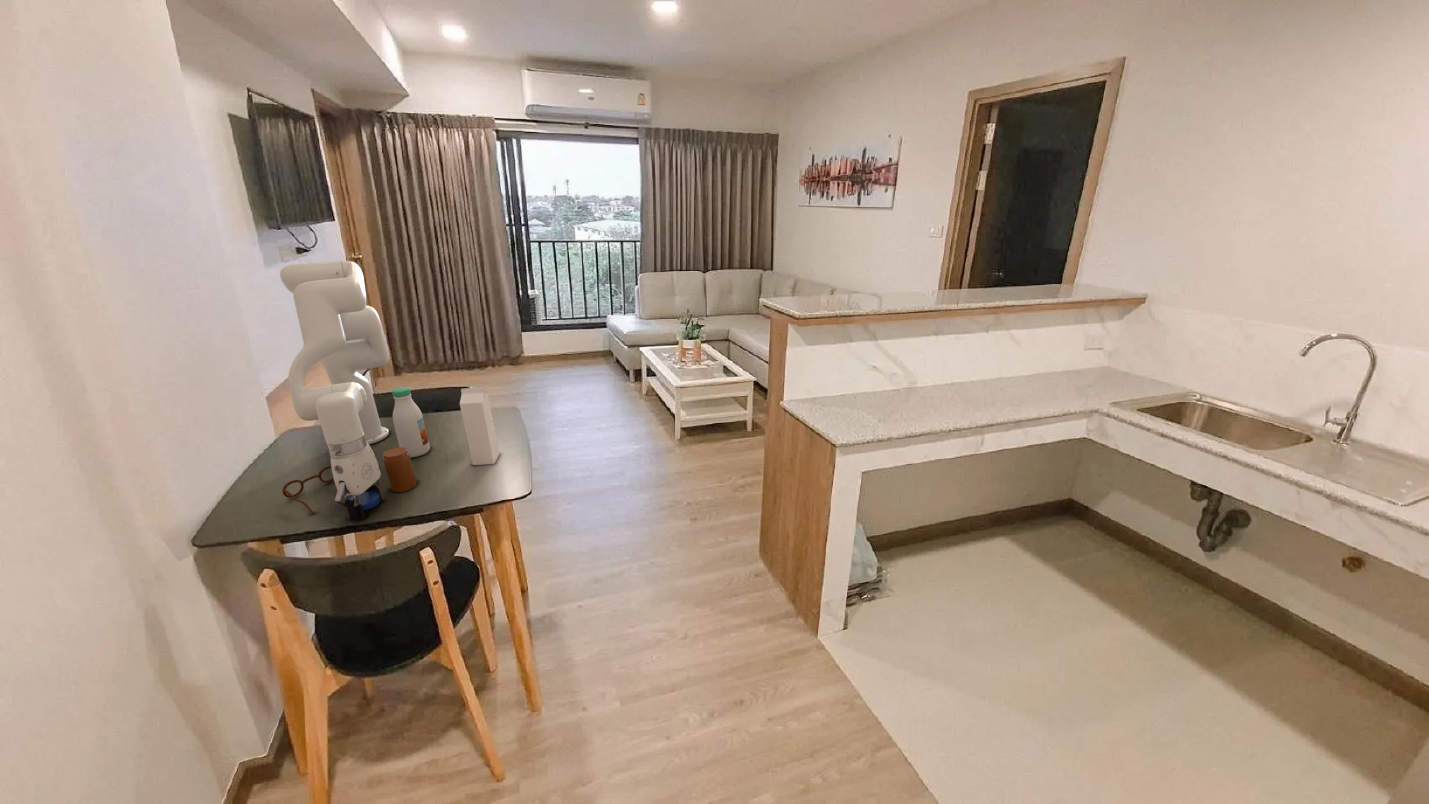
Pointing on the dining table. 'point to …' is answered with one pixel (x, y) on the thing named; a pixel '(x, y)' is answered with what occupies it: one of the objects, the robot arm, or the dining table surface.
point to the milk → (479, 426)
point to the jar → (399, 469)
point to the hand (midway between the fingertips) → (367, 510)
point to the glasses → (303, 487)
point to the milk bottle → (409, 423)
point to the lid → (368, 499)
